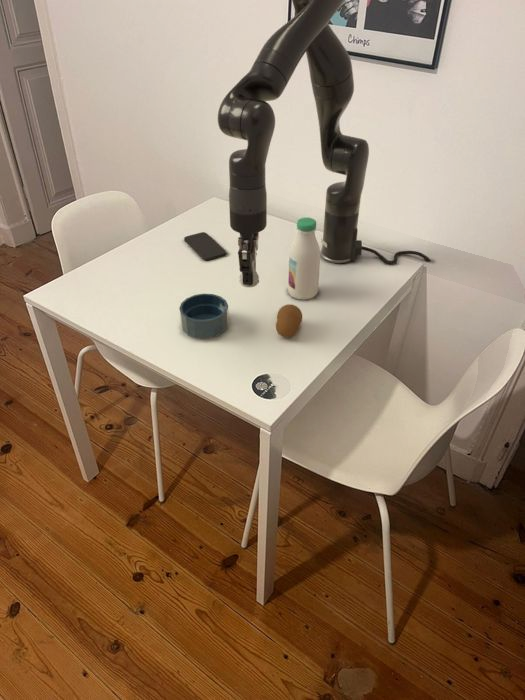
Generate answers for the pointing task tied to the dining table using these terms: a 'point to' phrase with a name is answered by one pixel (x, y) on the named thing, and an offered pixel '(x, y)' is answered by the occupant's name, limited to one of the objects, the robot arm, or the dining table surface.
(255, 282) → the rook chess piece
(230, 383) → the dining table surface
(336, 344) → the dining table surface
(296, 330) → the potato
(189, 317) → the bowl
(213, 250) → the phone
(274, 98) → the robot arm
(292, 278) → the milk bottle
